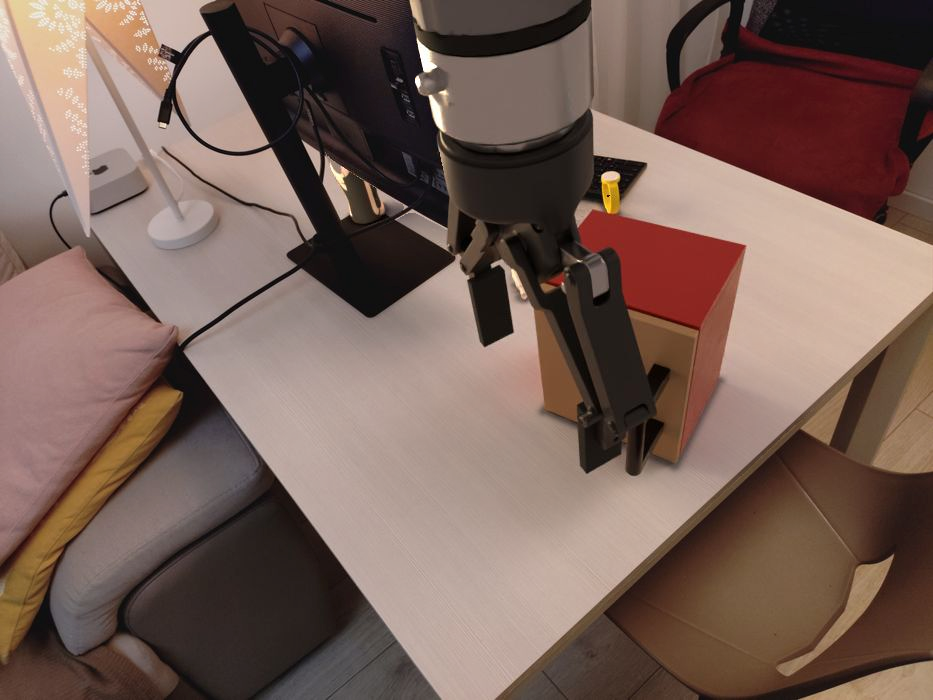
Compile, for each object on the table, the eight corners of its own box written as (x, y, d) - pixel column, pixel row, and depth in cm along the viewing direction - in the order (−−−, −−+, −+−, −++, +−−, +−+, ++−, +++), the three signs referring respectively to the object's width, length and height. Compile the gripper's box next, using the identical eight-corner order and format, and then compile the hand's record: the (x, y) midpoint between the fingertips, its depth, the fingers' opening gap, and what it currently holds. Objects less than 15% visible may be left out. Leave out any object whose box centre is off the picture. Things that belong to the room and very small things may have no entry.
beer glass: (354, 230, 107) (326, 151, 96) (344, 210, 111) (316, 132, 100) (392, 216, 108) (368, 136, 97) (380, 197, 112) (356, 118, 101)
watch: (623, 218, 97) (624, 185, 93) (605, 221, 97) (606, 188, 93) (614, 197, 101) (615, 164, 97) (597, 200, 102) (597, 167, 97)
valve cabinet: (679, 455, 68) (700, 327, 54) (549, 402, 76) (536, 277, 61) (718, 379, 74) (746, 245, 60) (594, 337, 82) (592, 208, 67)
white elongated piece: (534, 300, 88) (533, 290, 87) (515, 303, 88) (514, 293, 87) (523, 236, 98) (522, 226, 97) (506, 238, 98) (505, 228, 97)
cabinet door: (651, 510, 64) (665, 390, 50) (517, 448, 72) (496, 329, 58) (679, 456, 68) (699, 330, 54) (548, 403, 75) (535, 280, 61)
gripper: (350, 62, 37) (424, 317, 53) (607, 287, 21) (605, 561, 36) (461, 21, 39) (502, 279, 54) (780, 200, 22) (708, 497, 38)
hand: (543, 392), depth 45 cm, fingers open, 13 cm apart
